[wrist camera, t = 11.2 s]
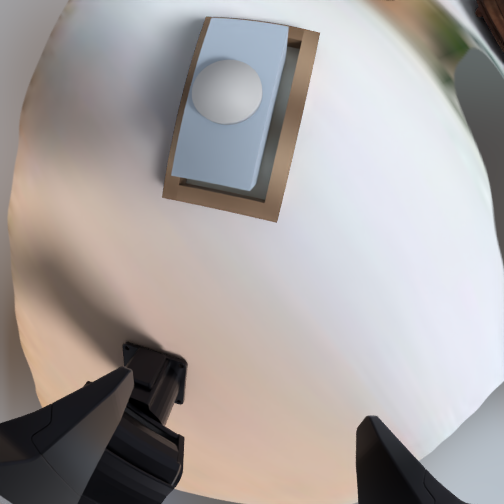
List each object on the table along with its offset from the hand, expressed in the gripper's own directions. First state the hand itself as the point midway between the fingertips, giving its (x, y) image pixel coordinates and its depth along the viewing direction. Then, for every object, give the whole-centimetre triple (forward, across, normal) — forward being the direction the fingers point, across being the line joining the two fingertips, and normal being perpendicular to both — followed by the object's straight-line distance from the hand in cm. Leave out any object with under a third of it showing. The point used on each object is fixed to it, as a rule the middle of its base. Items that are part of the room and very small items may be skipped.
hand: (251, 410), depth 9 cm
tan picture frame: (+12, +4, -11) cm, 17 cm away
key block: (+12, +4, -11) cm, 17 cm away
